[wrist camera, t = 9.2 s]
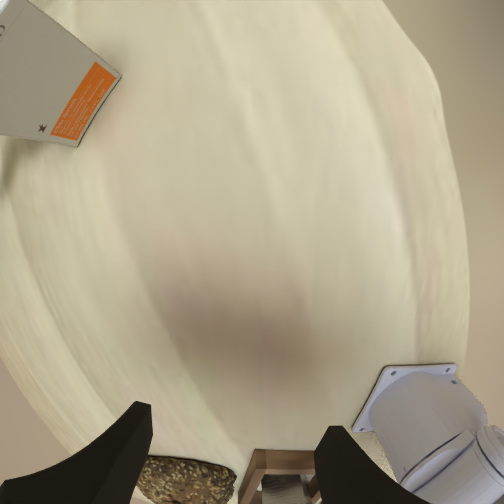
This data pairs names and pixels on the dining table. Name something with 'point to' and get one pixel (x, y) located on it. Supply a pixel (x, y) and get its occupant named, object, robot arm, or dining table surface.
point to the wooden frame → (276, 472)
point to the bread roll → (185, 481)
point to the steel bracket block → (285, 489)
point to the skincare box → (47, 77)
